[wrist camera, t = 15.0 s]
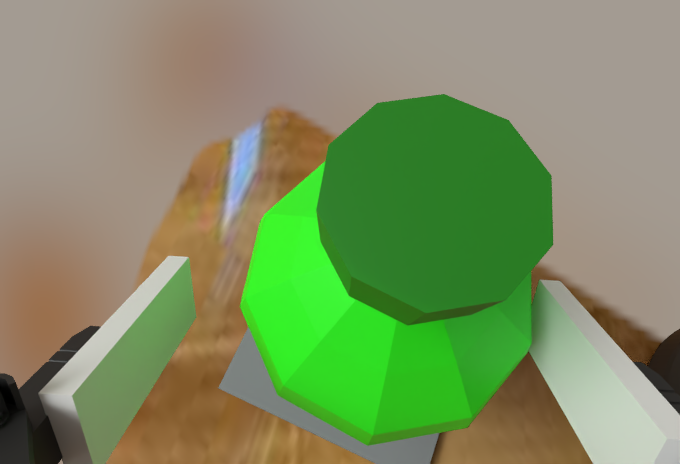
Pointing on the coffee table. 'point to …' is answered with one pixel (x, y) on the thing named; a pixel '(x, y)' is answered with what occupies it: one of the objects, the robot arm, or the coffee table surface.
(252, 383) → the rubber coaster
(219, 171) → the coffee table surface
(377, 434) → the plastic bottle
